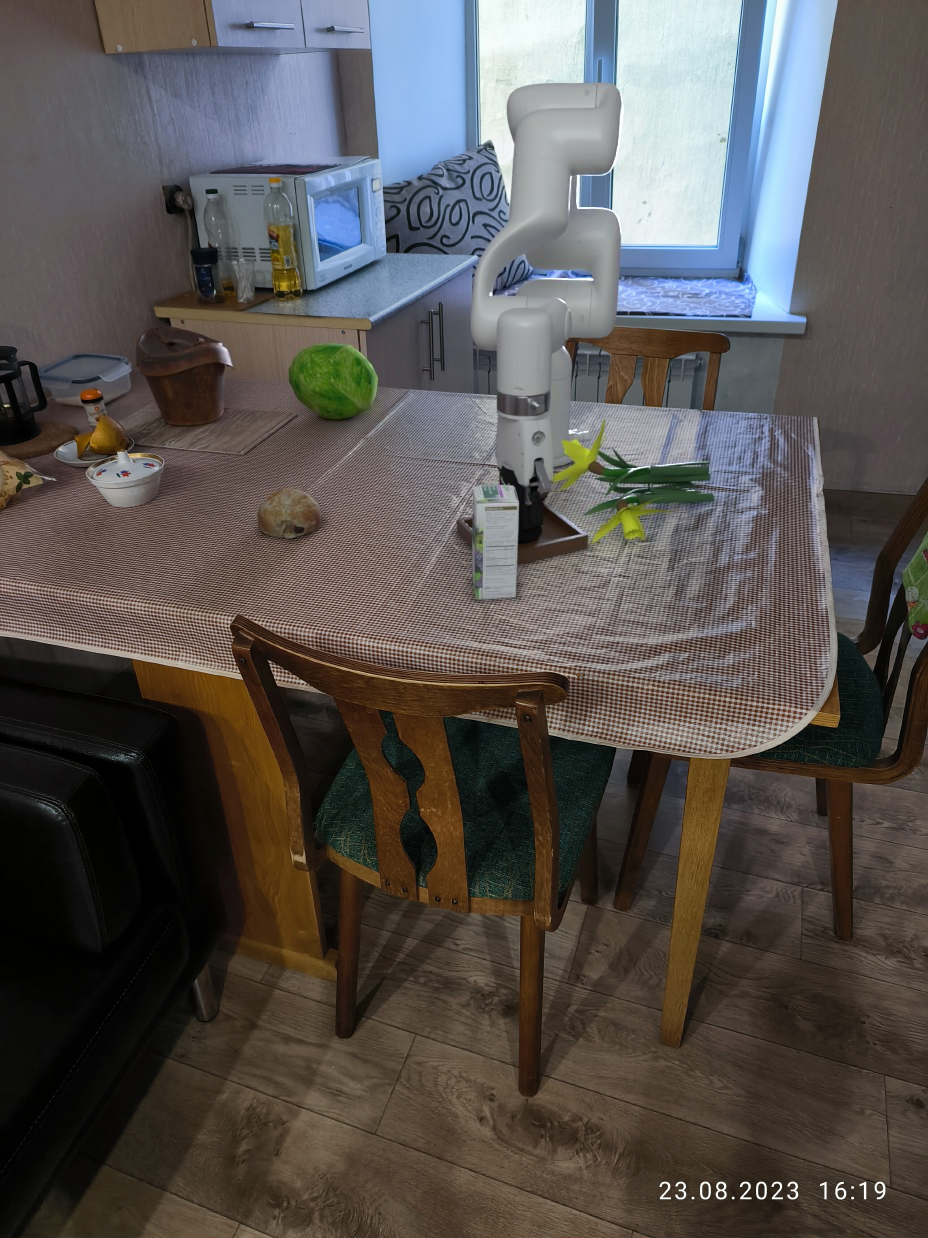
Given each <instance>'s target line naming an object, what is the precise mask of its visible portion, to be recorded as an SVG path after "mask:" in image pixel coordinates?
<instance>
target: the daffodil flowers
mask: <svg viewBox="0 0 928 1238" xmlns="http://www.w3.org/2000/svg"><path fill="white" fill-rule="evenodd" d="M605 425H606V419H604V420H603V421H602V423H601V426H600V430H599V433H598V435H597V437H596V439H595V440H594V442H593V443H592V446H591V447H590V449H588V448H587V447H584V446H583V445H581V442H578V440H577V439H576V440H575V439H574V441H572V440H571V442H569V441H566V440H562V445H563V447H564V449H565V451H563V452H564V454H566V455H568V456H569V457H570V458H571V459H572V460H573V461H572V462H574V464H572V465H570V466H568V467H566V468H565V469H563V470H561V471H559V472H557V473H555V474H553V480H552V481H551V482H550V483H552V482H554V483H556V482H560V481H561V482H562V481H564V480H566V479H567V480H566V481H565V482H564V484H563V485H562V486H561V487H560V488H559V490H558V492H561V491H563V490H565V489H568V488H570V487H571V486H573V485H574V484H575V483H576V482H577V481H578V480H579V478H581V477H582V475H584V474H586V473H587V472H589V473H592V474H594V475H598V476H599V477H594V480H596V481H599V482H603V483H608V485H609V488H608V490H607V492H606V494H605V498H606V497H607V496H609V494H610V493H611V492H612V491H613V492H614V493H616V494H622V495H621V496H620V497H615V498H611V499H608V500H606V501H603V502H601V503H598V504H597V505H595V506H594V507H592V508H590V509H589V510H588V511H586V512H585V513H583V517H584V516H591V515H593V514H596V513H598V512H601V511H605V510H609V509H611V511H610V514H609V515H612V514H613V513H614V511H615V510H616V512H615V514H613V515H612V516H611V517H610V519H609V520H608V521H606V522H605V523H604V524H602V525H601V526H600V527H599V529H598V530H597V531H596V532H595V533H594V536H593V540H592V542H591V544H594V543H596V542H597V541H599V540H600V539H602V538H604V537H605V536H606V535H607V534H608V533H609V532H611V531H612V530H613V529H615V528H616V527H618V526H619V525H620V524H621V525H622V531H623V532H622V533H623V538H624V539H625V540H627V541H629V540H632V539H634V540H635V539H636V537H637V538H639V539H641V540H646V535H645V530H644V528H643V524H642V522H641V520H640V518H639V517H642V516H647V515H652V514H658V513H661V514H667V513H670V512H671V510H665V509H657V508H645V507H646V506H647V505H653V504H654V505H656V504H679V503H680V504H681V503H682V504H683V503H684V504H685V503H704V502H705V503H706V502H707V503H708V502H714V500H715V498H714V497H715V495H714V493H713V492H702V491H701V490H696V488H697V489H698V488H701V487H702V486H703V484H696V482H710V480H711V474H710V467H709V466H705V465H709V464H711V462H710V461H693V462H692V461H691V462H690V461H689V462H682V463H680V462H679V463H670V464H661V465H650V466H649V465H648V466H638V465H634V464H631V463H628V462H627V461H626V460H624V459H623V457H622V456H621V455H620V454H619V453H618V452H617V451H616V449H614V448H612V451H613V453H614V455H615V458H614V457H611V456H609V454H606V453H604V452H602V451H600V448H601V447H602V445H603V444H604V442H605V441H606V439H607V435H605V437H604V436H603V435H604V431H605ZM603 437H604V438H603ZM602 439H603V440H602ZM598 456H599V457H600V458H601V459H602V460H603V461H604V462H606V463H608V465H609V464H610V465H611V466H613V467H615V468H613V467H612V468H610V467H605V466H604V465H602V464H601V463H600V462H599V461H597V458H598ZM616 458H617V459H616ZM618 484H619V485H618ZM620 484H621V485H623V486H621V485H620ZM624 485H628V486H624ZM629 485H647V486H629ZM651 485H659V486H651Z"/></svg>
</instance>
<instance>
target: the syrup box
mask: <svg viewBox="0 0 928 1238" xmlns="http://www.w3.org/2000/svg"><path fill="white" fill-rule="evenodd" d="M472 517H473V531H472V547H471V551H472V553H471V554H472V555H471V556H472V557H471V558H472V559H471V564H472V566H471V567H472V569H471V571H472V575H471V576H472V589H473V593H474V599H475V600H476V601H481V600H482V601H483V600H497V599H498V600H499V599H510V598H511V599H513V598H517V585H518V583H517V582H518V565H517V552H518V522H519V501H518V497H517V493H516V491H515V488H514V486H510V485H499V484H487V485H486V484H485V485H484V484H483V485H476V486H473V488H472Z"/></svg>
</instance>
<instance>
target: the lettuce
mask: <svg viewBox="0 0 928 1238" xmlns="http://www.w3.org/2000/svg"><path fill="white" fill-rule="evenodd" d="M378 381H379V376H378V375H377V373H376V371H375V369H374V367H373V365H372V363H370V361H369V360H368V359H367V358H366V357H365V356H364V355H363V354H362V353H361V352H360V351H359V350H357V349H356V348H355V347H354V346H353V345H351V344H344V343H335V342H327V343H326V342H325V343H316V344H313V345H311V346H308V347H305V348H303V349H301V351H300V352H298V353H297V354H296V355H295V356H294V357H293V359H292V362H291V364H290V366H289V368H288V383H289V384H290V387H291V388H292V390H293V393H294V396H295V398H296V399H297V400H298V401H299V402H300V403H301V404H302V405H304V406H305V407H306V408H307V409H309V410H311V411H312V412H314V413H315V414H316V415H318V416H319V417H321V418H323V419H324V420H343V419H348V418H352V417H357V416H358V415H360V414H362V413H364V412H366V411H368V410H369V409H370V408H371V407H372V405H373V403H374V401H375V398H376V396H377V390H378V383H379V382H378Z"/></svg>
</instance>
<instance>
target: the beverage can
mask: <svg viewBox="0 0 928 1238" xmlns="http://www.w3.org/2000/svg"><path fill="white" fill-rule="evenodd" d="M502 464H503V466H502V467H501V469H500V472H499V471H498V472H499V474H498V475H499V476H498V477H499V478H498V482H499V483H498V485H510V486H514V488H515V491H516V493H517V497H518V501H519V522H518V544H526V543H531V542H533V541H535V540H537V539H538V537H539V536H540V535H541V534H542V526H540V527H536V528H531V529H526V530H525V529H524V528H523V527H522V511H523V504H524V503H525V498H524V492H523V486H522V485H521V484H519V483H518V480H517V478H516V475H515V473H514V468H510V467H508V466H507V465H506V464H504V461H503V462H502ZM532 482H537V479H536V477H532V478H531V479H529V483H532ZM534 491H537V486H533V487H530V493H531V495H532V494H533V492H534Z"/></svg>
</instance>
